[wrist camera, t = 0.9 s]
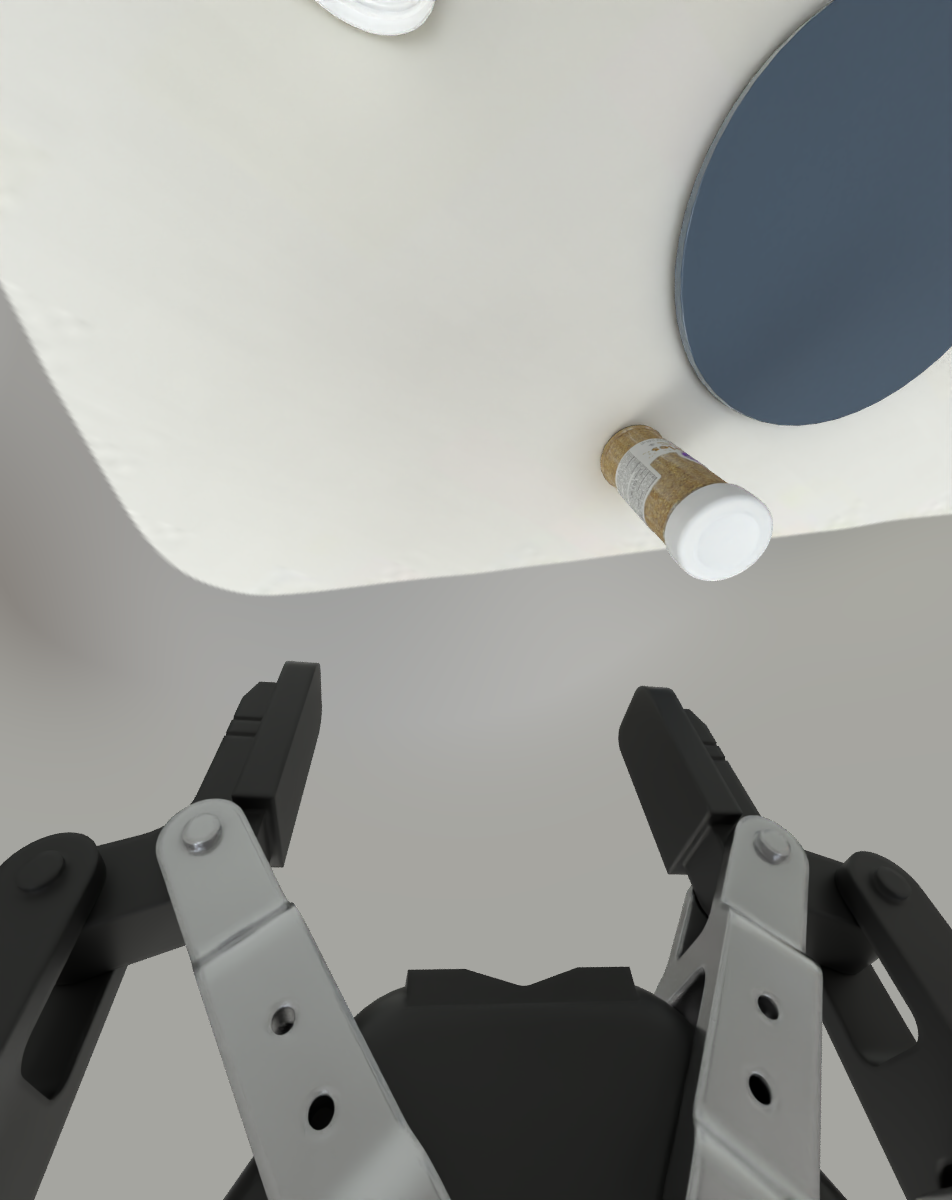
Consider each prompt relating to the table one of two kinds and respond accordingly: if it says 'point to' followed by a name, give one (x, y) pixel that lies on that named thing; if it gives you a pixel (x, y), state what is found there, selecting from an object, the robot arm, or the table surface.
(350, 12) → the spread jar
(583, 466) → the table surface
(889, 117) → the plate
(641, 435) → the sprinkles bottle
